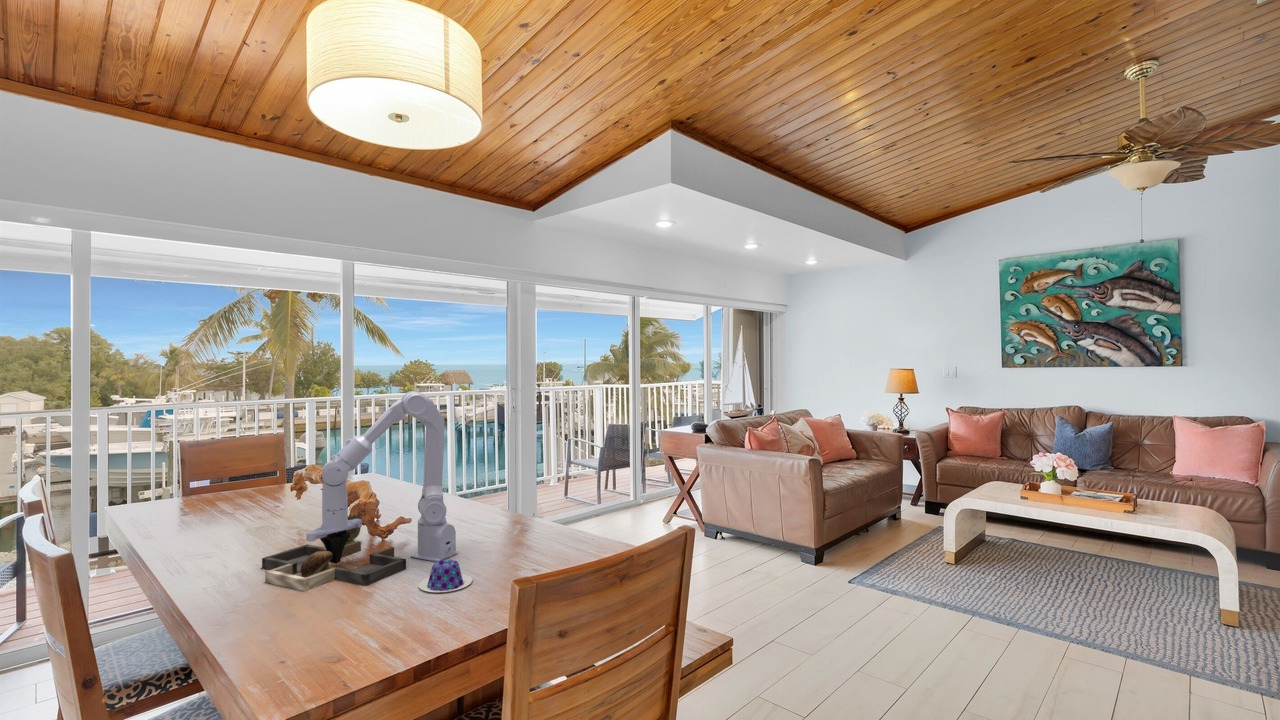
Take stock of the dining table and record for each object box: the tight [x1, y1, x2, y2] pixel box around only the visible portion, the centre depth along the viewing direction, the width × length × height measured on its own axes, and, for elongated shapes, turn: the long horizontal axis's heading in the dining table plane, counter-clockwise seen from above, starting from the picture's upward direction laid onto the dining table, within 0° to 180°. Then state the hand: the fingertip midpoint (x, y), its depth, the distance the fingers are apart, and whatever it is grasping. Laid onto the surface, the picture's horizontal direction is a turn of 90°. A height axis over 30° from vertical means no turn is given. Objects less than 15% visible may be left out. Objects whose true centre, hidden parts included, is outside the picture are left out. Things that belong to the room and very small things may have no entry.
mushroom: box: [300, 551, 335, 578], centre depth 148 cm, size 8×8×6 cm
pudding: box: [417, 559, 473, 593], centre depth 142 cm, size 12×12×5 cm
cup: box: [345, 513, 363, 545], centre depth 172 cm, size 8×7×8 cm
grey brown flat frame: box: [261, 540, 407, 592], centre depth 153 cm, size 33×26×2 cm
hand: (335, 562), depth 153 cm, fingers closed
